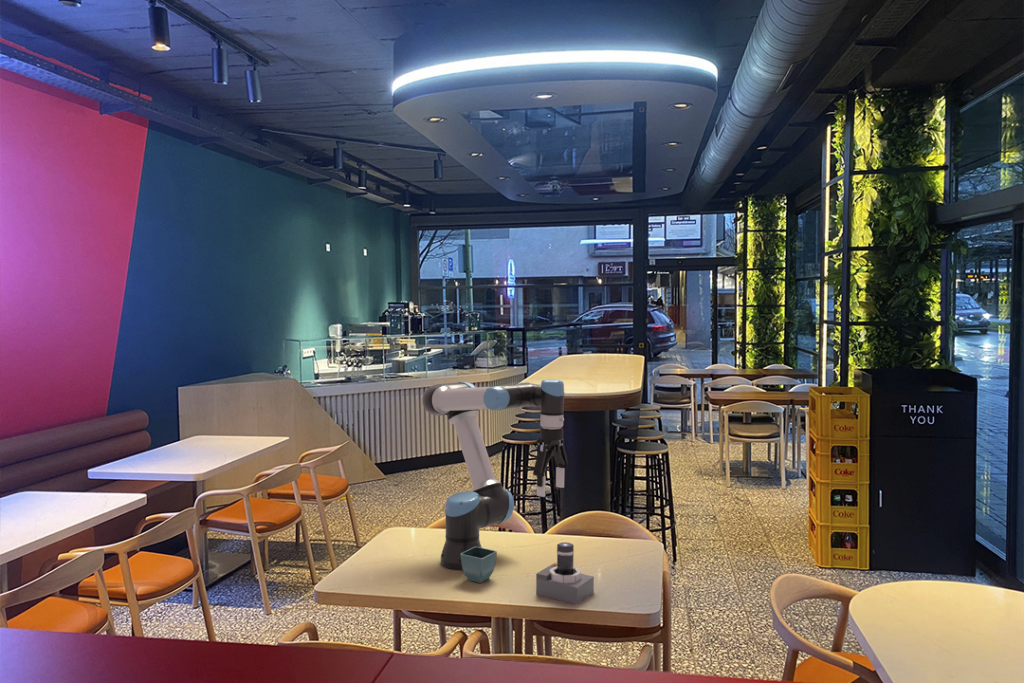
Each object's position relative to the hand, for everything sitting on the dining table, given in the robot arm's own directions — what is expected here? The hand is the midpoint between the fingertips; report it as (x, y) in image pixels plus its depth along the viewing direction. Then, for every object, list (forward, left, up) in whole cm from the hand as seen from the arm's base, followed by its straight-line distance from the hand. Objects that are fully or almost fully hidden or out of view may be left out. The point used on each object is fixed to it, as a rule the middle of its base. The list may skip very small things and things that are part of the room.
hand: (550, 491), depth 233 cm
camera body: (+12, -11, -28) cm, 32 cm away
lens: (+12, -11, -23) cm, 28 cm away
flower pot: (-17, -16, -28) cm, 37 cm away
